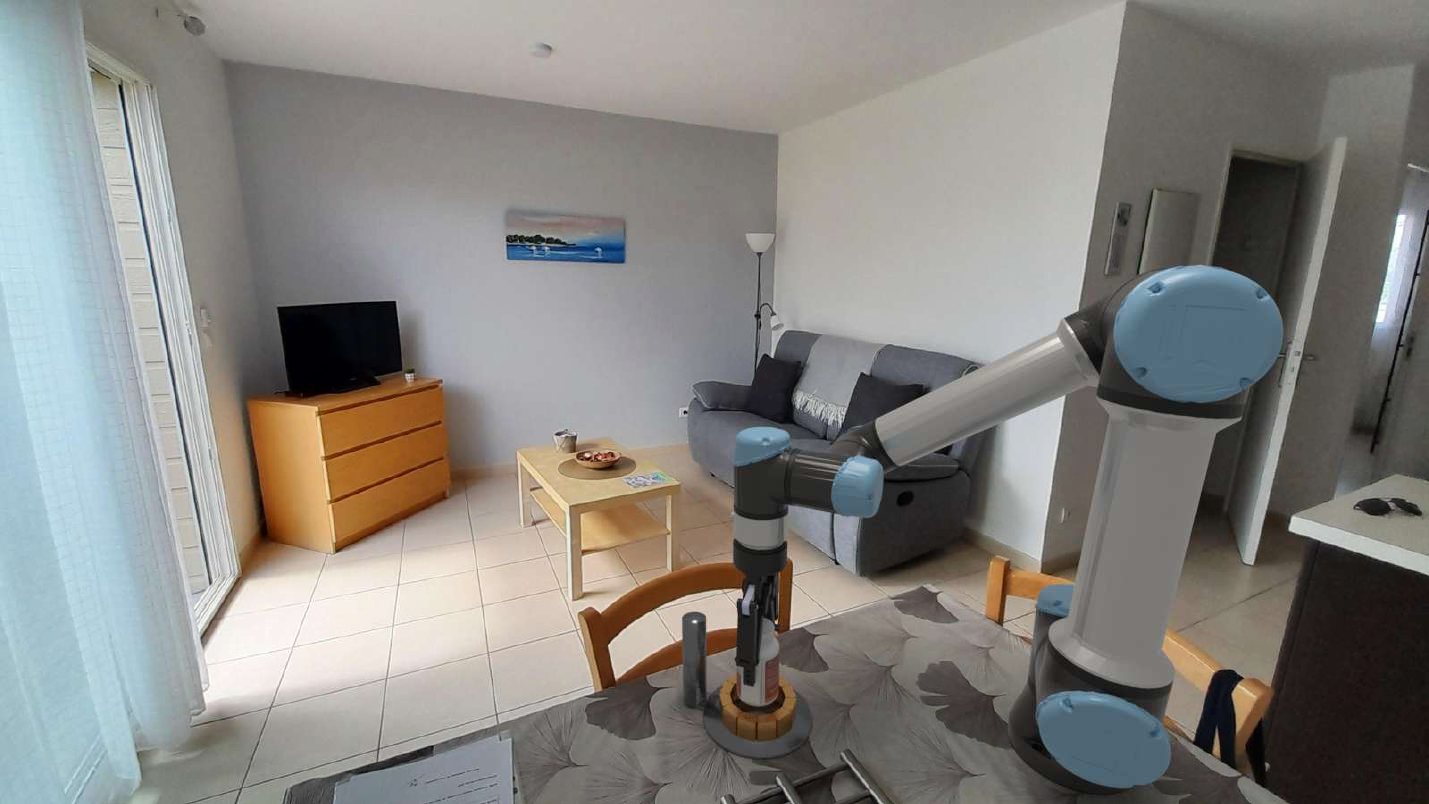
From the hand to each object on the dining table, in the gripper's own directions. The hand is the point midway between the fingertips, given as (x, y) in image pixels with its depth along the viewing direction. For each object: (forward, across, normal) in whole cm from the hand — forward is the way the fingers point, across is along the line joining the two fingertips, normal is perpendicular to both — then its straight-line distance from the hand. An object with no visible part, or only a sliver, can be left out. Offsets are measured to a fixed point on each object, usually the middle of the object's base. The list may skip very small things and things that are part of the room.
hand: (757, 685), depth 87 cm
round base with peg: (+5, 0, -2) cm, 6 cm away
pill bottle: (+2, 0, 0) cm, 2 cm away
